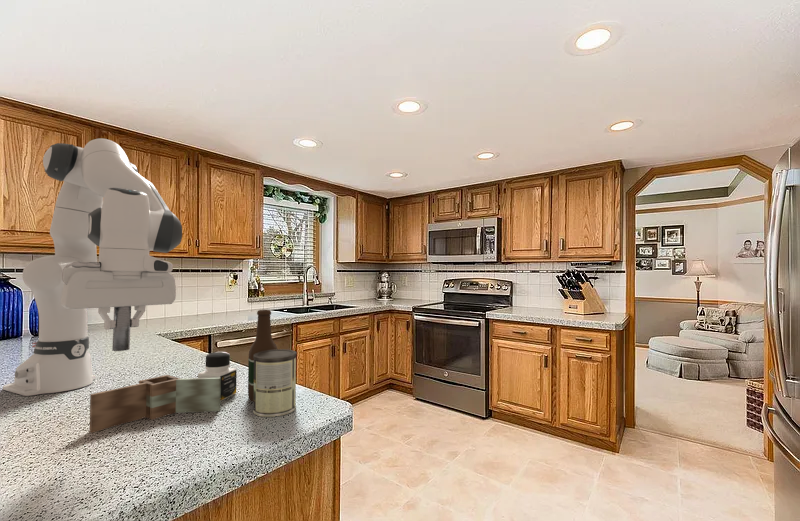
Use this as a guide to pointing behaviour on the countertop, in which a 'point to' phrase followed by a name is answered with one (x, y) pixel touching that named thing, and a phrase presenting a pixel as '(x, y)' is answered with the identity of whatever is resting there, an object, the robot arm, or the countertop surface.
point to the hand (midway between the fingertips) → (121, 327)
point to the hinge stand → (153, 400)
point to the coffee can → (274, 382)
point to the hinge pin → (122, 328)
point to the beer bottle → (259, 346)
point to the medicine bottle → (221, 372)
